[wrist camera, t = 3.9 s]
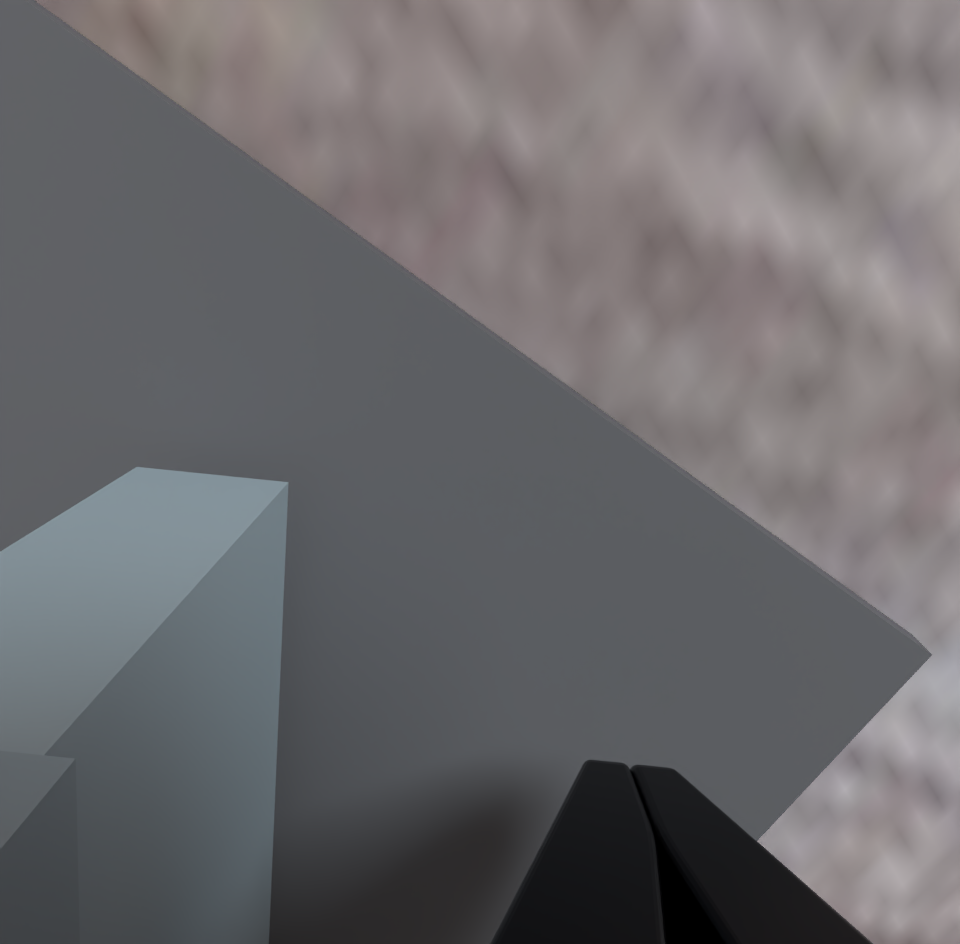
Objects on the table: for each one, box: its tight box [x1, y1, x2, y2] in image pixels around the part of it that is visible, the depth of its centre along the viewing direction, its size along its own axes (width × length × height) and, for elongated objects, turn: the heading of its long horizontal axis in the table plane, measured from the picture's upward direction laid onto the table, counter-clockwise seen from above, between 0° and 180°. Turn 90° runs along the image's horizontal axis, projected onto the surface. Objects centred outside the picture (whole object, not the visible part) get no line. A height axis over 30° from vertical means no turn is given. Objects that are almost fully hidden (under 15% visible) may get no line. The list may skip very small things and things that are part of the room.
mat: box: [0, 0, 932, 944], centre depth 10 cm, size 13×12×1 cm
